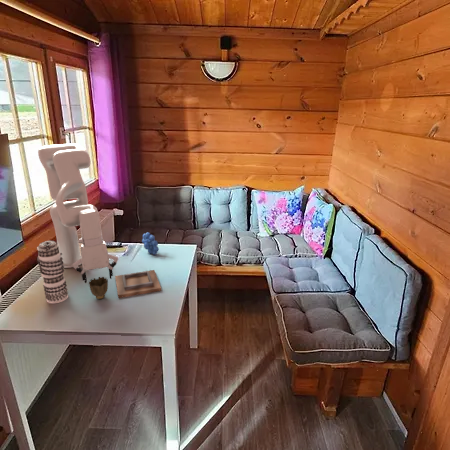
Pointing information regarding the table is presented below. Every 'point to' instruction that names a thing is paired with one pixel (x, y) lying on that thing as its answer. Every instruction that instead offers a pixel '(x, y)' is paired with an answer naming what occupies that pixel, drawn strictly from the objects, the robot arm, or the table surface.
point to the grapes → (150, 243)
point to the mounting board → (137, 283)
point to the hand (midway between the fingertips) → (98, 279)
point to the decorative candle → (52, 272)
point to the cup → (99, 287)
